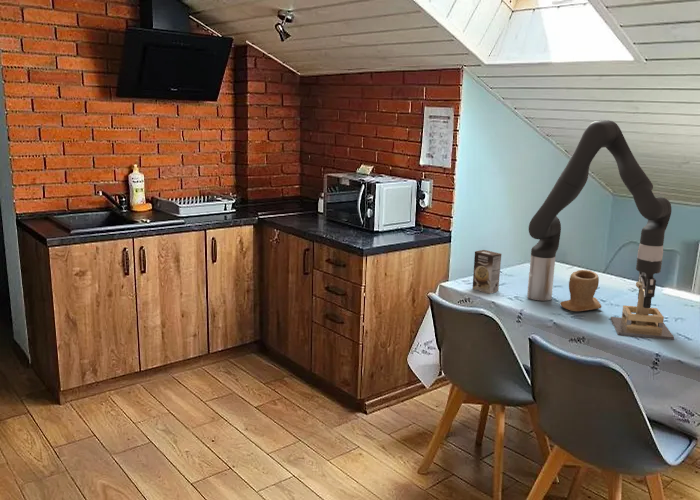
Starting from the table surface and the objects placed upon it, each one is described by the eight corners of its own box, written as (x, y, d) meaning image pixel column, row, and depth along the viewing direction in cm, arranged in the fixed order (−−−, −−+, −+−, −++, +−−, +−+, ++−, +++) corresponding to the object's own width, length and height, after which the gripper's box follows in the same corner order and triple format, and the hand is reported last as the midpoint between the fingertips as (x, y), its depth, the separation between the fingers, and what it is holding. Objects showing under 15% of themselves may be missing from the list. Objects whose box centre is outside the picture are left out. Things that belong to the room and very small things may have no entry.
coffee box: (471, 289, 254) (473, 251, 250) (481, 286, 258) (483, 249, 255) (489, 294, 247) (492, 255, 244) (499, 291, 252) (502, 253, 248)
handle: (639, 322, 213) (644, 281, 210) (653, 328, 207) (658, 286, 204) (628, 323, 212) (633, 282, 209) (641, 329, 206) (646, 287, 203)
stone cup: (575, 316, 222) (579, 276, 218) (555, 306, 233) (559, 268, 230) (610, 312, 226) (614, 273, 223) (588, 303, 237) (592, 265, 234)
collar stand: (617, 334, 204) (620, 316, 203) (610, 319, 219) (612, 302, 218) (673, 340, 200) (676, 321, 198) (662, 323, 215) (664, 306, 214)
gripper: (633, 252, 211) (628, 296, 215) (641, 261, 198) (636, 309, 202) (657, 253, 210) (651, 298, 213) (667, 263, 196) (660, 311, 200)
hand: (643, 303), depth 207 cm, fingers open, 8 cm apart
